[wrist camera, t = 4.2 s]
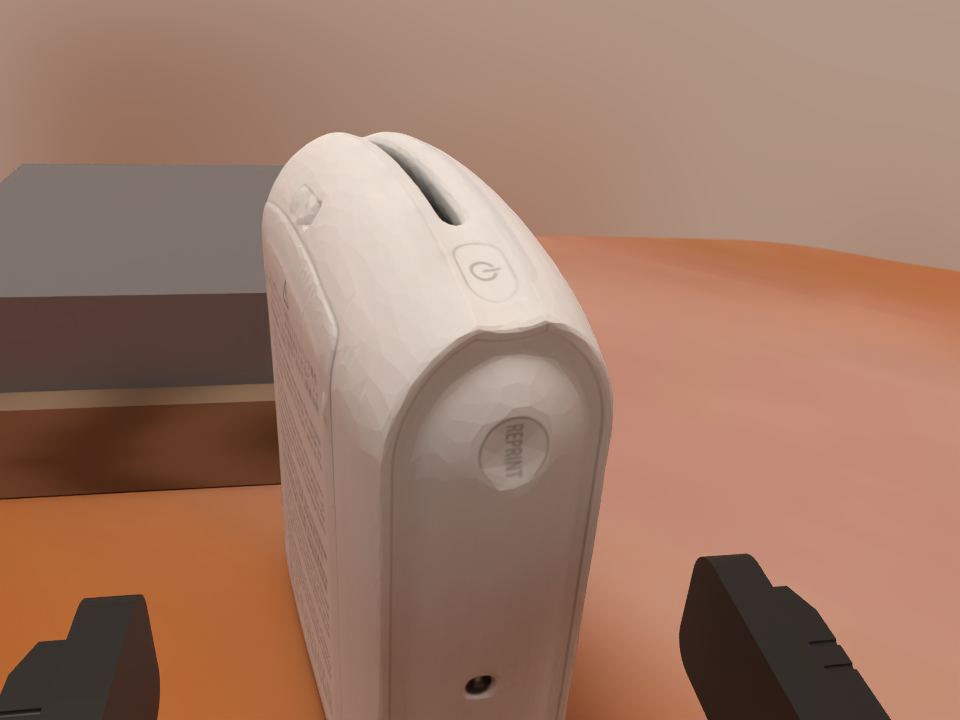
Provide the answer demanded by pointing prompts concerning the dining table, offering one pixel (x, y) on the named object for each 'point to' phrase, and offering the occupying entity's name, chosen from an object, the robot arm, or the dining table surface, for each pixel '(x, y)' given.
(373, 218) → the photo printer
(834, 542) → the dining table surface
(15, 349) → the top brick
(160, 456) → the base brick
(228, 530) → the dining table surface
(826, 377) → the dining table surface
